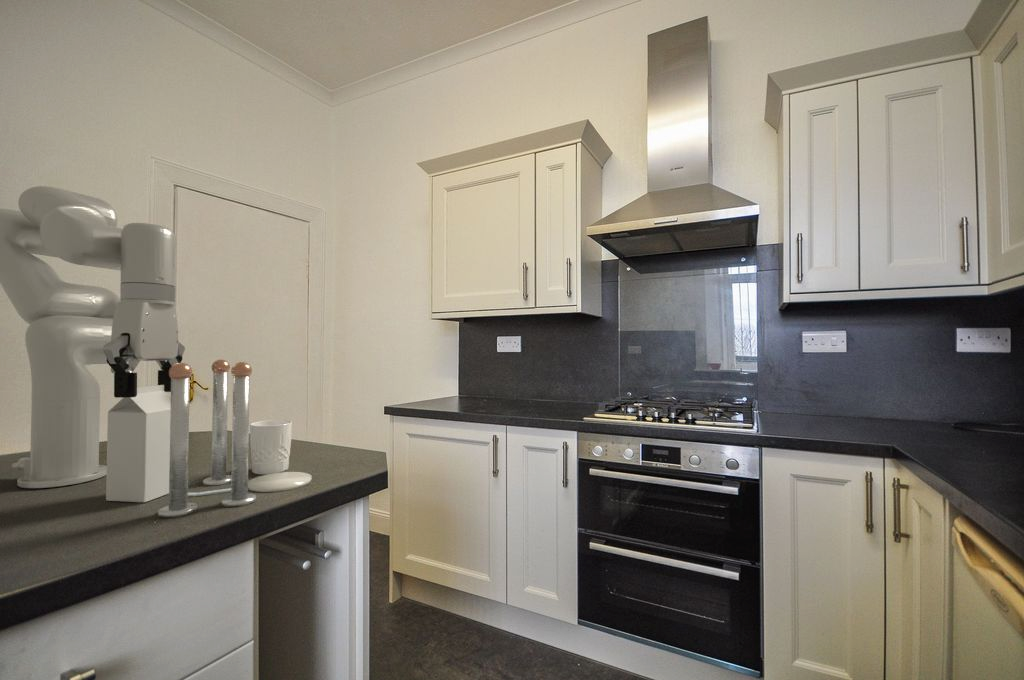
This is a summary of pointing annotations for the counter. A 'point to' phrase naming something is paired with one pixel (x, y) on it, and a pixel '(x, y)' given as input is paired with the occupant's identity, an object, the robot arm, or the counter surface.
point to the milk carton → (139, 446)
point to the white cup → (270, 446)
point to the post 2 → (219, 425)
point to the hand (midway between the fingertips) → (147, 394)
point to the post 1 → (179, 444)
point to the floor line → (209, 492)
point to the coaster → (279, 481)
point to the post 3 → (240, 438)
